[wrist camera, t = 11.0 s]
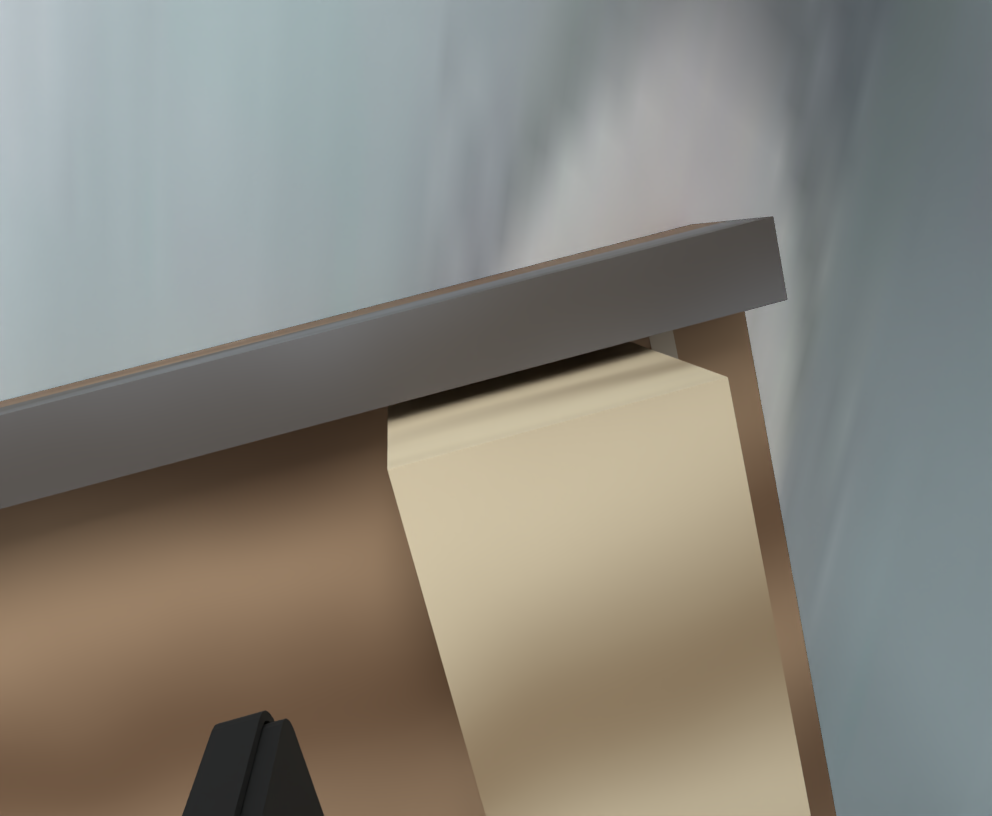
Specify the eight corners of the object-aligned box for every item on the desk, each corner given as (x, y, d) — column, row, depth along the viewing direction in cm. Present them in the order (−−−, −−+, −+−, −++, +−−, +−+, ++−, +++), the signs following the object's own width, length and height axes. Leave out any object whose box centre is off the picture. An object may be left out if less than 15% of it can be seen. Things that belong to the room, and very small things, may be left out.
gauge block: (387, 405, 16) (387, 469, 12) (629, 341, 17) (727, 377, 12) (492, 779, 18) (530, 972, 13) (708, 714, 19) (823, 878, 14)
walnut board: (-544, 540, 17) (-831, 629, 13) (692, 224, 19) (772, 215, 15) (-246, 1090, 19) (-405, 1299, 16) (795, 764, 21) (886, 878, 18)
